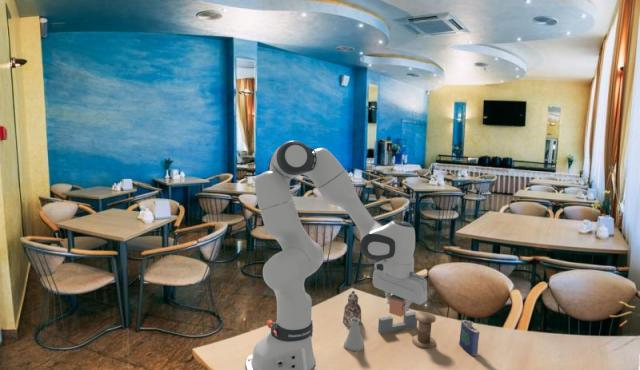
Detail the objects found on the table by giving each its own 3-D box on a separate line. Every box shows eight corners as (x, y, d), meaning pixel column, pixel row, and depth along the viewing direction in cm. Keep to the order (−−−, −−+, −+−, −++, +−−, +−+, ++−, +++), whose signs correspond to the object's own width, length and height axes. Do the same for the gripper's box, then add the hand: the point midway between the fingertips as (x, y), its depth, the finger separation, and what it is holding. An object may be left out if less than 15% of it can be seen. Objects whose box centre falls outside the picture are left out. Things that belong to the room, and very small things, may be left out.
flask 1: (340, 348, 144) (341, 321, 143) (348, 338, 151) (349, 313, 149) (359, 354, 141) (360, 327, 140) (367, 344, 147) (368, 318, 146)
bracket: (380, 334, 154) (381, 320, 154) (378, 331, 156) (378, 318, 155) (416, 327, 160) (417, 313, 159) (414, 325, 162) (415, 311, 161)
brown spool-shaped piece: (420, 350, 144) (422, 323, 143) (408, 338, 152) (409, 313, 150) (439, 346, 147) (441, 319, 146) (426, 335, 155) (428, 309, 153)
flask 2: (478, 356, 142) (481, 327, 140) (471, 357, 141) (473, 328, 139) (463, 342, 150) (466, 314, 149) (456, 343, 150) (458, 315, 148)
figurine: (341, 325, 161) (342, 295, 159) (344, 316, 167) (345, 288, 165) (359, 327, 159) (361, 298, 157) (362, 319, 166) (363, 290, 164)
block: (389, 312, 141) (390, 296, 140) (393, 309, 144) (394, 293, 143) (401, 316, 138) (402, 299, 137) (405, 313, 141) (406, 296, 140)
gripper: (432, 275, 133) (429, 315, 135) (382, 258, 148) (380, 295, 150) (421, 280, 129) (418, 321, 131) (370, 262, 143) (368, 300, 146)
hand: (397, 307), depth 141 cm, fingers closed on block, 5 cm apart
